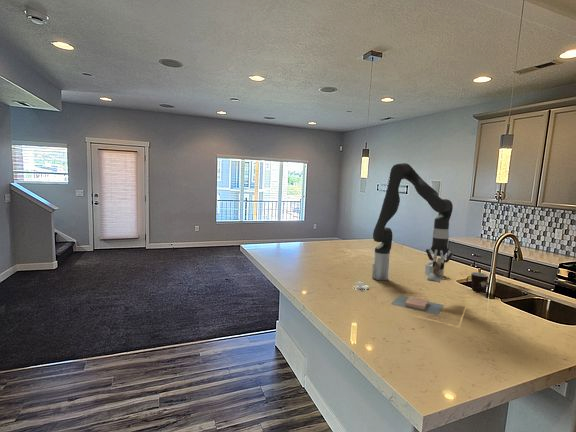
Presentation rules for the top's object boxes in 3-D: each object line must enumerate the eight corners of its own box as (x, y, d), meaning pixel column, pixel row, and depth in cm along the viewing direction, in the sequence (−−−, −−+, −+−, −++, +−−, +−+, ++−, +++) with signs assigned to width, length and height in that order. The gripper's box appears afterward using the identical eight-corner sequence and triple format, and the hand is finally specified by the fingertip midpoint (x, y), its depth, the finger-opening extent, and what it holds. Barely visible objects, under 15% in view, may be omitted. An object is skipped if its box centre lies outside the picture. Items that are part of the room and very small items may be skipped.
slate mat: (390, 305, 160) (390, 303, 160) (399, 296, 173) (399, 295, 173) (438, 316, 148) (438, 315, 148) (443, 306, 161) (443, 304, 161)
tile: (410, 299, 167) (404, 305, 158) (410, 296, 167) (405, 302, 158) (428, 303, 162) (424, 310, 153) (429, 300, 162) (424, 306, 153)
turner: (427, 280, 164) (427, 273, 163) (435, 263, 177) (435, 257, 176) (439, 282, 161) (439, 275, 159) (447, 265, 174) (447, 259, 172)
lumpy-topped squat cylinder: (430, 277, 212) (431, 264, 211) (421, 271, 225) (422, 259, 224) (445, 277, 212) (446, 264, 212) (435, 272, 225) (436, 260, 224)
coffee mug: (484, 289, 190) (486, 273, 189) (488, 294, 182) (490, 277, 180) (462, 286, 193) (464, 270, 192) (465, 291, 185) (467, 274, 184)
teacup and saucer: (369, 288, 186) (369, 281, 186) (366, 292, 179) (367, 285, 179) (354, 286, 190) (354, 279, 190) (351, 289, 183) (351, 283, 182)
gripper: (424, 236, 169) (422, 268, 171) (454, 239, 161) (451, 272, 162) (428, 234, 175) (425, 265, 177) (456, 237, 167) (453, 270, 168)
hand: (438, 268), depth 170 cm, fingers closed on turner, 2 cm apart
